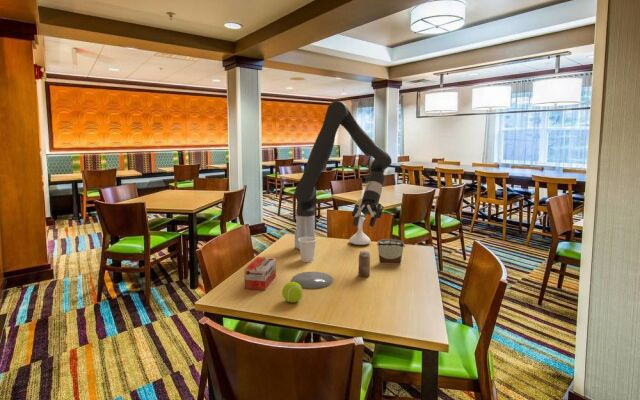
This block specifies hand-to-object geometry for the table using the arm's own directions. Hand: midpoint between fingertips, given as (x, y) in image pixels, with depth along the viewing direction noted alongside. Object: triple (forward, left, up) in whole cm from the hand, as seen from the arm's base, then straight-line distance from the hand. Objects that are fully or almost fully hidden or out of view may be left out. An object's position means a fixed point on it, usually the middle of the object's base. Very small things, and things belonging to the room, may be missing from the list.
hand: (362, 226), depth 169 cm
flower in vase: (-13, +31, -18) cm, 38 cm away
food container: (+9, +11, -18) cm, 23 cm away
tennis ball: (-8, -46, -18) cm, 50 cm away
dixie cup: (-25, -5, -18) cm, 31 cm away
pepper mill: (+5, -11, -18) cm, 22 cm away
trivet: (-11, -26, -18) cm, 34 cm away
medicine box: (-28, -37, -18) cm, 50 cm away
